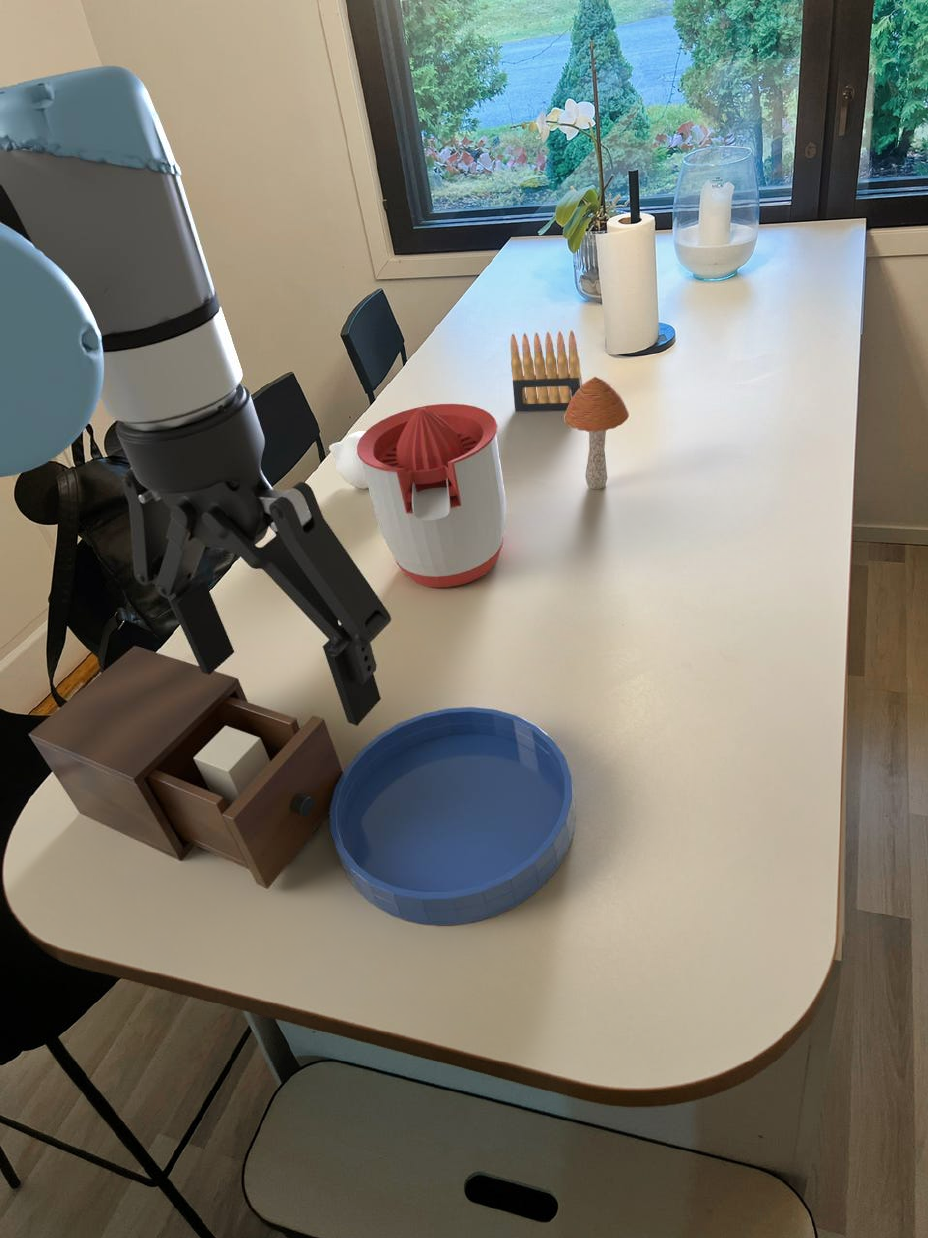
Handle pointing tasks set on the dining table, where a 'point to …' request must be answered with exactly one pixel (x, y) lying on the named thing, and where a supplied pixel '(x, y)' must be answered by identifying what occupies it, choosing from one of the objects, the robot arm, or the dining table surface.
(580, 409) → the mushroom
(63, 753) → the cabinet
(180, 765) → the drawer
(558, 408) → the ammunition clip
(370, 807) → the bowl
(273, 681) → the dining table surface
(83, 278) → the robot arm
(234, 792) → the block
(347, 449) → the cat figurine
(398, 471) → the citrus juicer
